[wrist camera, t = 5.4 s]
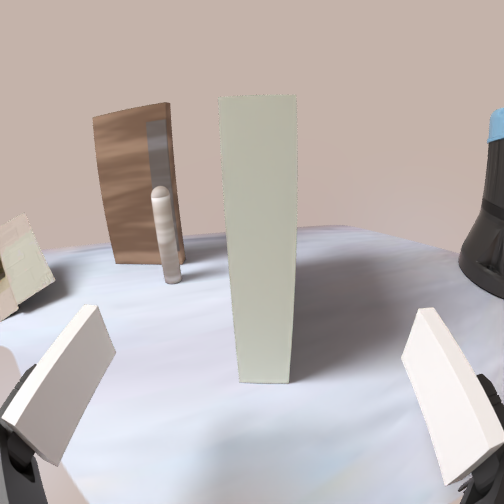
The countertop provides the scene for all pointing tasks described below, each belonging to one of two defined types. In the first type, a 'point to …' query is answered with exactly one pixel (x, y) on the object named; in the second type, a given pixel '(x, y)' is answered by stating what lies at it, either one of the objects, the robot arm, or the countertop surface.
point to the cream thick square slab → (261, 229)
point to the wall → (20, 265)
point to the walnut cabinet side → (140, 187)
